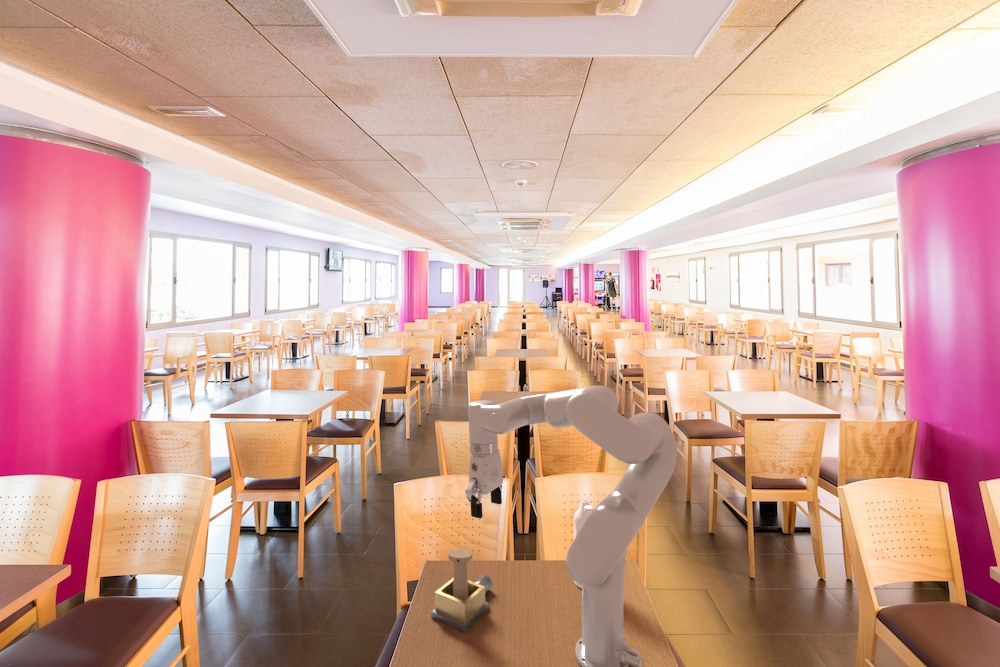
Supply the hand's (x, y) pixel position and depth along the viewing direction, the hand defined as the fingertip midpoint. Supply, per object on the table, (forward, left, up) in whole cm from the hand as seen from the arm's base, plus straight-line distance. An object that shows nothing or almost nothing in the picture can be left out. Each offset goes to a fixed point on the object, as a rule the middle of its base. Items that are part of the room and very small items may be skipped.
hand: (487, 510), depth 127 cm
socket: (+5, +2, -27) cm, 28 cm away
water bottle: (-19, -24, -28) cm, 41 cm away
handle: (+5, +5, -26) cm, 27 cm away
